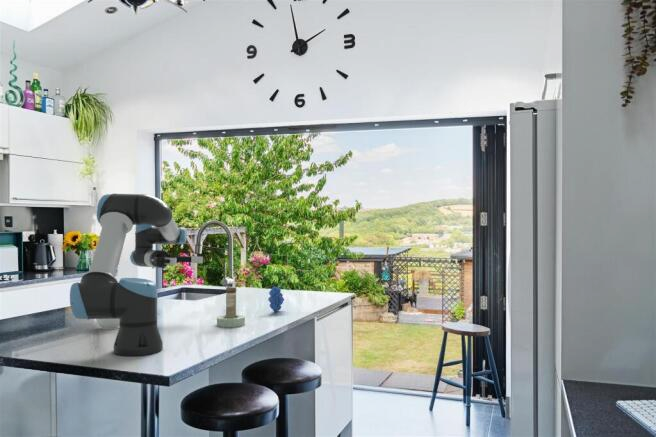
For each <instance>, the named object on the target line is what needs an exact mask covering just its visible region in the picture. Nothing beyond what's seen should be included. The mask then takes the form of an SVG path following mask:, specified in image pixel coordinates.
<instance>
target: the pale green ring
mask: <svg viewBox="0 0 656 437" xmlns="http://www.w3.org/2000/svg"><path fill="white" fill-rule="evenodd" d="M245 324H246V316H245V315H242V314H236V318H226V314H223V315H219V316H217V317H216V326H218V327H221V328H237V327H242V326H245Z"/></svg>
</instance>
